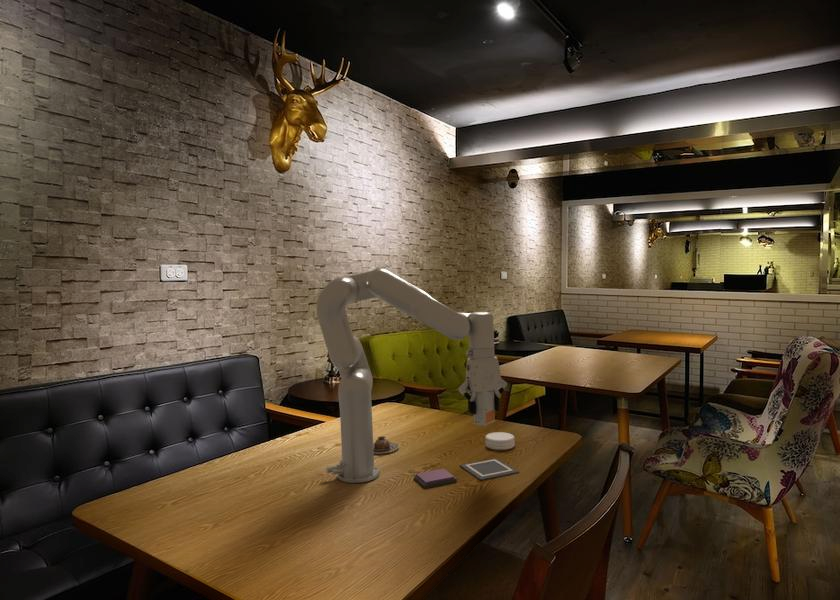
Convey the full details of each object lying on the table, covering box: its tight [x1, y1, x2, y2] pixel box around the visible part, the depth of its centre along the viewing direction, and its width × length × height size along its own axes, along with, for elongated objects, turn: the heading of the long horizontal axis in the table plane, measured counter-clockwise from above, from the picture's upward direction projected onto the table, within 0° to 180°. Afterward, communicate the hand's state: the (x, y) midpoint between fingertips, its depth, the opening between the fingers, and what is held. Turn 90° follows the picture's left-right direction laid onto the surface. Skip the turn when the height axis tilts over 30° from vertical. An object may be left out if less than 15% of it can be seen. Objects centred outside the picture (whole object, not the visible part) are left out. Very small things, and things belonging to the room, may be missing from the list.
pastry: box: [373, 435, 400, 456], centre depth 184 cm, size 12×12×5 cm
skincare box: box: [472, 386, 496, 426], centre depth 160 cm, size 6×4×12 cm
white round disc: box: [485, 431, 516, 451], centre depth 184 cm, size 10×10×4 cm
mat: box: [459, 458, 520, 482], centre depth 162 cm, size 13×13×1 cm
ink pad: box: [413, 468, 458, 489], centre depth 155 cm, size 10×8×2 cm
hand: (484, 411), depth 161 cm, fingers closed on skincare box, 7 cm apart
